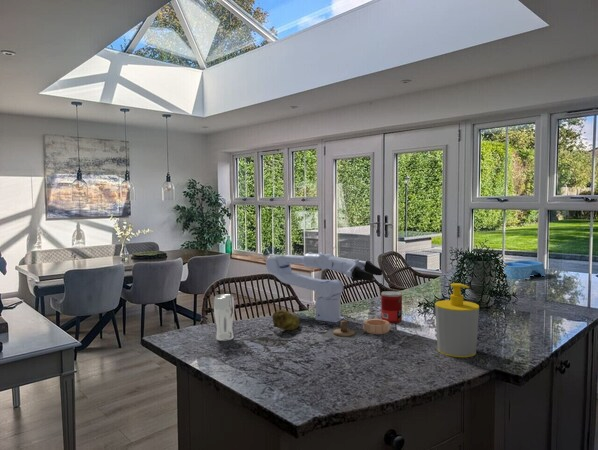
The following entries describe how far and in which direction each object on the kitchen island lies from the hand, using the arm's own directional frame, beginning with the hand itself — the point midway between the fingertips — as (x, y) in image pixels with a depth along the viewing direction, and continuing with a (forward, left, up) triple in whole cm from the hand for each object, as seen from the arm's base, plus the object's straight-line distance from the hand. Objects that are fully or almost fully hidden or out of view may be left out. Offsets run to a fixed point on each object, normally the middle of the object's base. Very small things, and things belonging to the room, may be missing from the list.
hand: (377, 275), depth 160 cm
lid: (-8, -13, -19) cm, 25 cm away
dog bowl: (+46, +142, -20) cm, 151 cm away
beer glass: (-44, -35, -20) cm, 60 cm away
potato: (-29, -17, -20) cm, 39 cm away
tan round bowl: (+1, -4, -20) cm, 20 cm away
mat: (-8, -13, -20) cm, 25 cm away
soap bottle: (+30, -13, -20) cm, 38 cm away
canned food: (+2, +12, -20) cm, 23 cm away
